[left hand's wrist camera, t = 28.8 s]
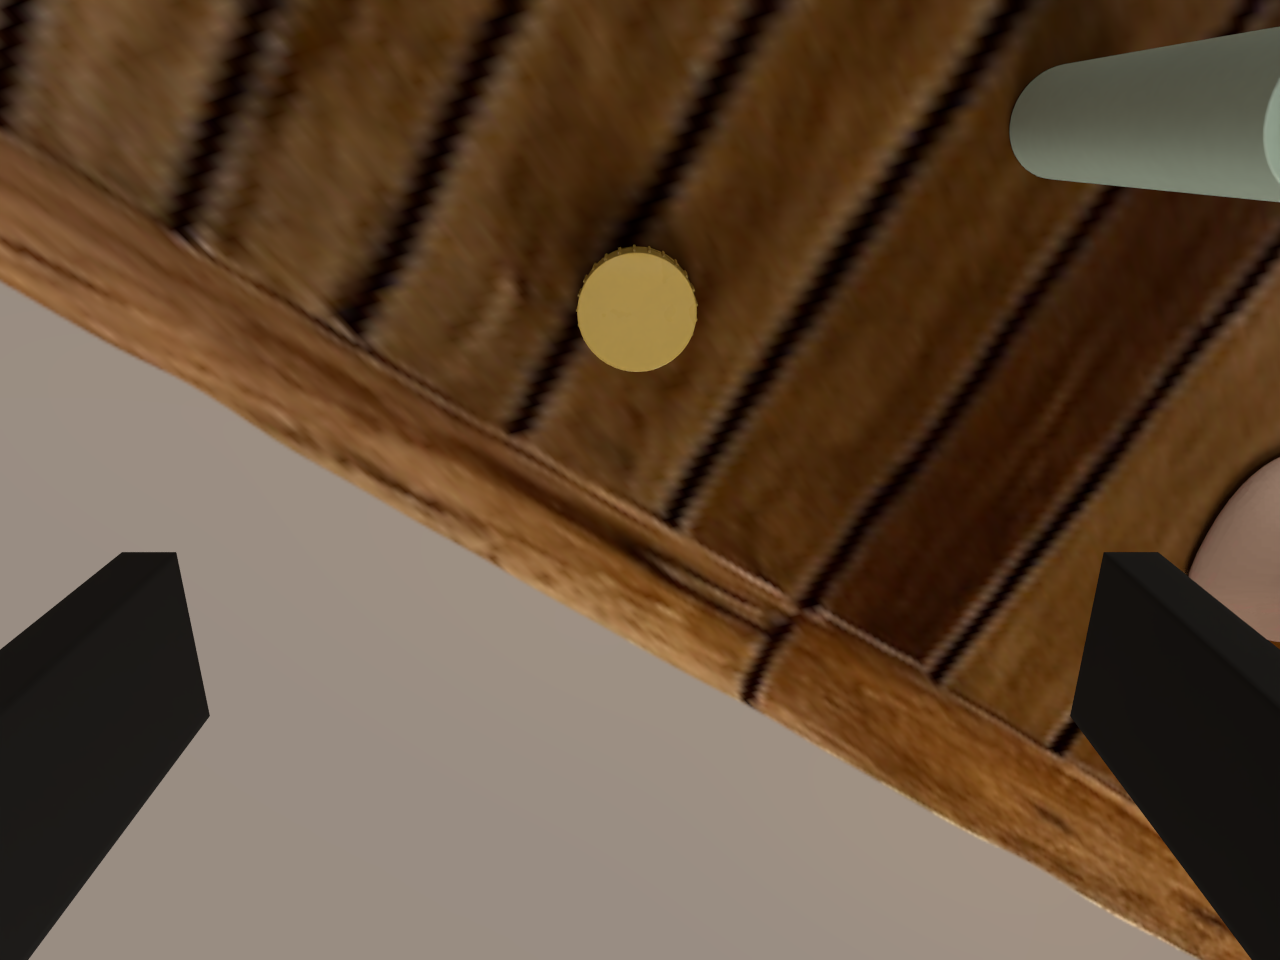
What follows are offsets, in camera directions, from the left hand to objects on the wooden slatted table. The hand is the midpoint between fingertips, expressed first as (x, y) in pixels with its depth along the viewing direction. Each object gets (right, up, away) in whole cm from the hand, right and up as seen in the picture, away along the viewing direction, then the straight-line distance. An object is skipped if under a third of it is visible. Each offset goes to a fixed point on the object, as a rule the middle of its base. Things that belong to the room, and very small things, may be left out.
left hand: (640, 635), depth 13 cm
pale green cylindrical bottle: (+18, +17, +25) cm, 35 cm away
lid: (0, +10, +26) cm, 28 cm away
